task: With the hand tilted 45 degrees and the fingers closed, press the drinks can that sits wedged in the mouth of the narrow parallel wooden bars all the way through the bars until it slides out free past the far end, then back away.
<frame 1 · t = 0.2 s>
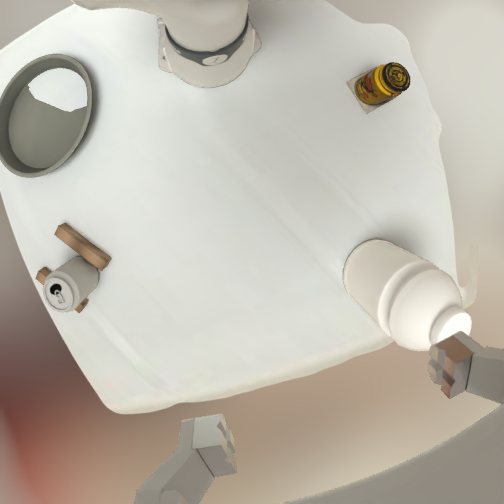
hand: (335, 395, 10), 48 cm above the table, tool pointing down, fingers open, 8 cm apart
condiment: (371, 89, 52), on the table
parallel wooden bars: (74, 266, 55), on the table
can: (84, 273, 56), on the table
cake pan: (47, 116, 48), on the table
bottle: (372, 271, 61), on the table
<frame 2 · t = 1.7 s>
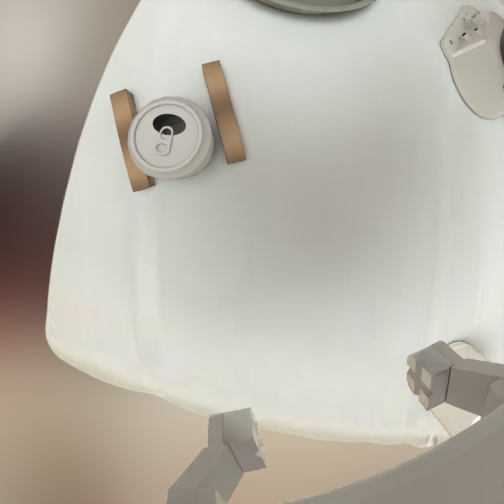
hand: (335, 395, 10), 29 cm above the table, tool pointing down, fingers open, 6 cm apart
parallel wooden bars: (178, 127, 34), on the table
can: (183, 146, 35), on the table
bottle: (444, 370, 48), on the table
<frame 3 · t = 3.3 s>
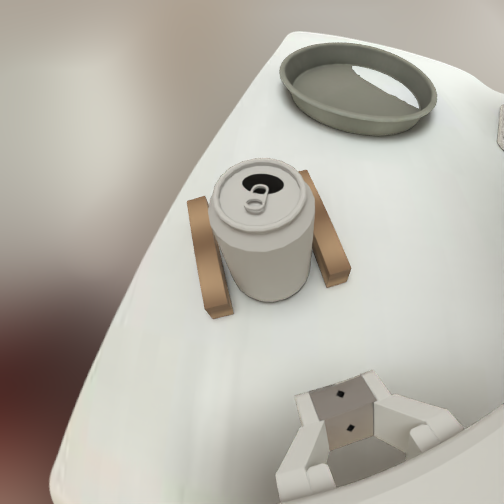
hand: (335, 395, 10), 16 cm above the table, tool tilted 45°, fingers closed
parallel wooden bars: (264, 246, 32), on the table
can: (271, 269, 31), on the table
cake pan: (357, 96, 43), on the table
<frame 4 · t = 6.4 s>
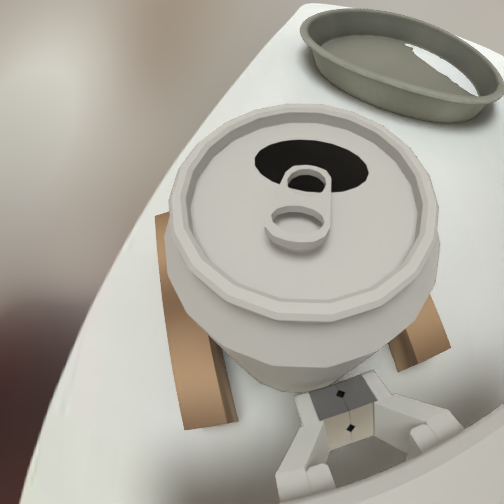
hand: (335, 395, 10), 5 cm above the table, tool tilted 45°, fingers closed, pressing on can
parallel wooden bars: (291, 298, 18), on the table
can: (297, 327, 17), on the table, touching gripper
cake pan: (401, 72, 30), on the table
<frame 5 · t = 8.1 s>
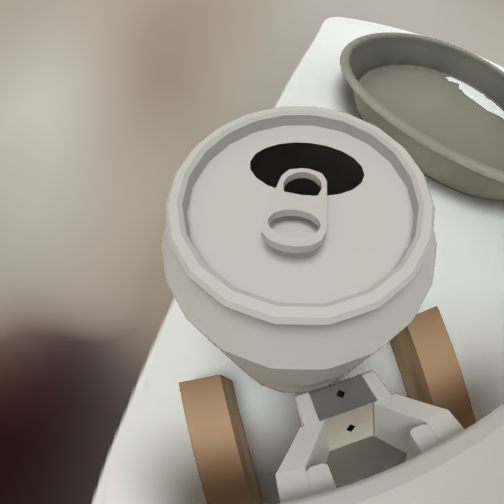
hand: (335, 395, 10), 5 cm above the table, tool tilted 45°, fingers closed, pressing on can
parallel wooden bars: (341, 461, 13), on the table
can: (296, 328, 17), on the table, touching gripper
cake pan: (452, 120, 25), on the table
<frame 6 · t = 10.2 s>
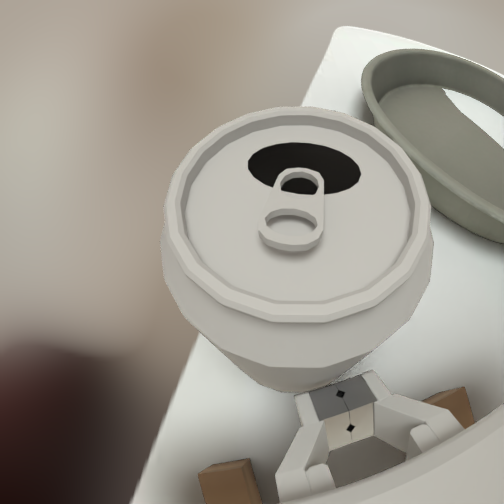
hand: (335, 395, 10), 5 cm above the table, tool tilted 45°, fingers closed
can: (295, 328, 17), on the table
cake pan: (476, 150, 23), on the table
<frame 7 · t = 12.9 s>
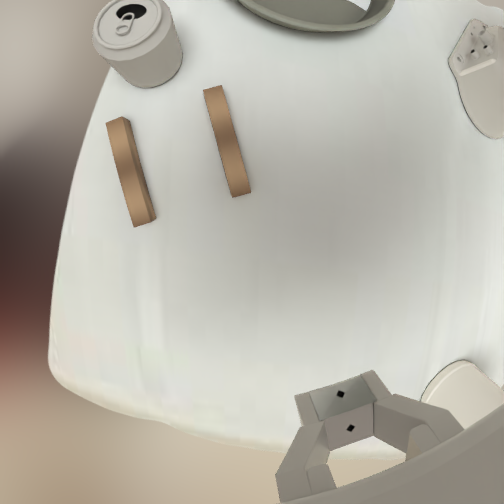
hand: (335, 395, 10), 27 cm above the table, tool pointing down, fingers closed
parallel wooden bars: (179, 156, 34), on the table
can: (152, 62, 31), on the table
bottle: (446, 388, 47), on the table
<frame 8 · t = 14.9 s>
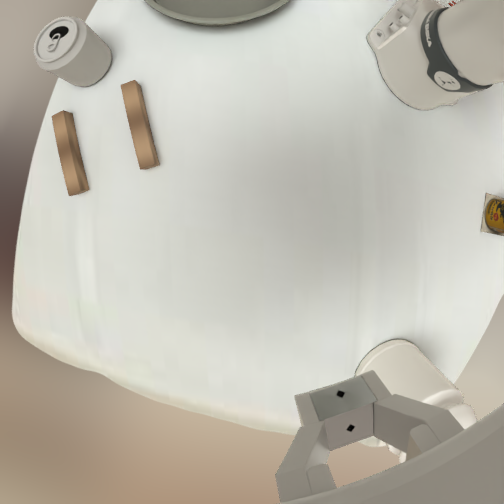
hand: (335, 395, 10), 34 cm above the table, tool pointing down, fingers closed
condiment: (494, 215, 47), on the table
parallel wooden bars: (106, 139, 38), on the table
can: (91, 65, 35), on the table
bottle: (386, 369, 52), on the table
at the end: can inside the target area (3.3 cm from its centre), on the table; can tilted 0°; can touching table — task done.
